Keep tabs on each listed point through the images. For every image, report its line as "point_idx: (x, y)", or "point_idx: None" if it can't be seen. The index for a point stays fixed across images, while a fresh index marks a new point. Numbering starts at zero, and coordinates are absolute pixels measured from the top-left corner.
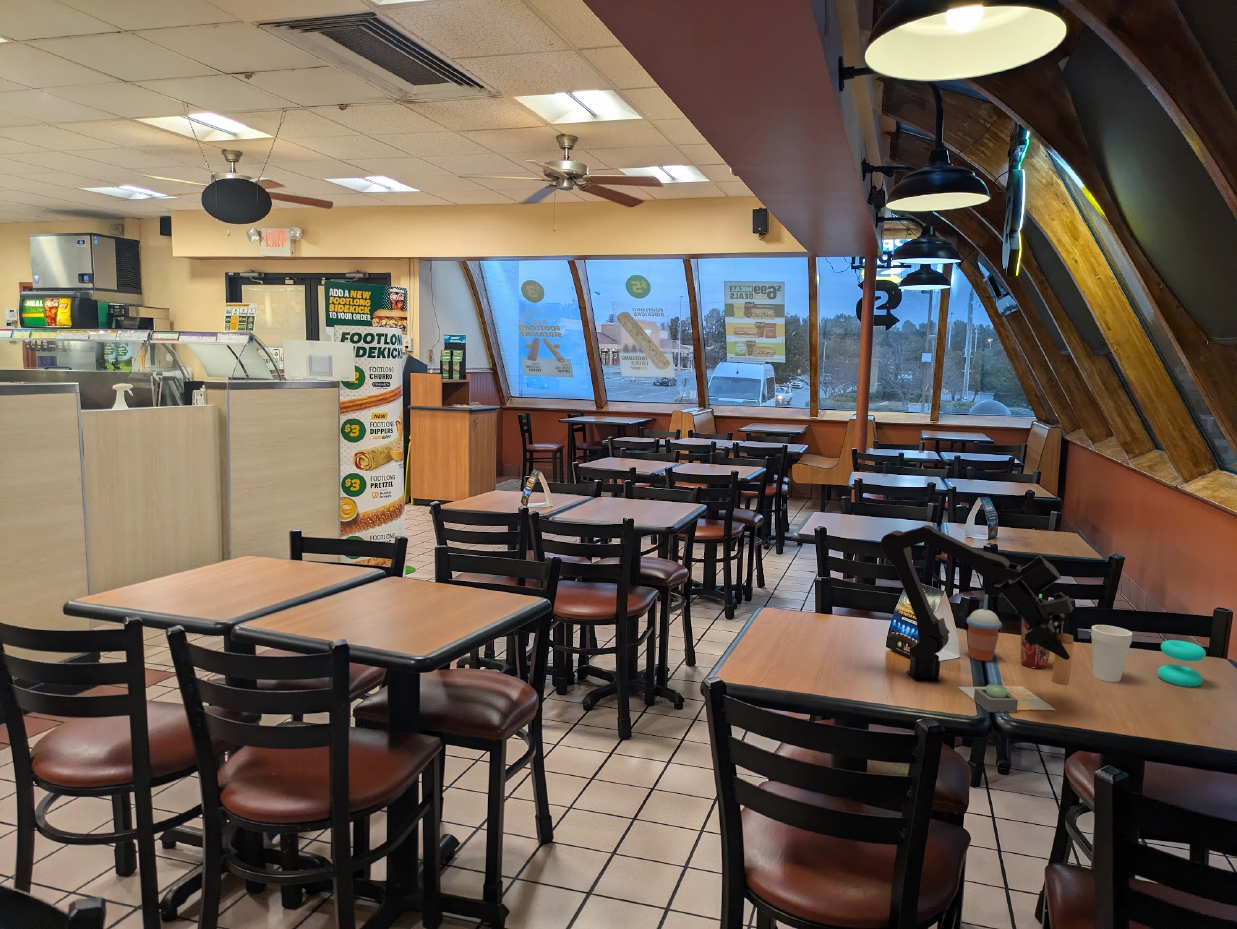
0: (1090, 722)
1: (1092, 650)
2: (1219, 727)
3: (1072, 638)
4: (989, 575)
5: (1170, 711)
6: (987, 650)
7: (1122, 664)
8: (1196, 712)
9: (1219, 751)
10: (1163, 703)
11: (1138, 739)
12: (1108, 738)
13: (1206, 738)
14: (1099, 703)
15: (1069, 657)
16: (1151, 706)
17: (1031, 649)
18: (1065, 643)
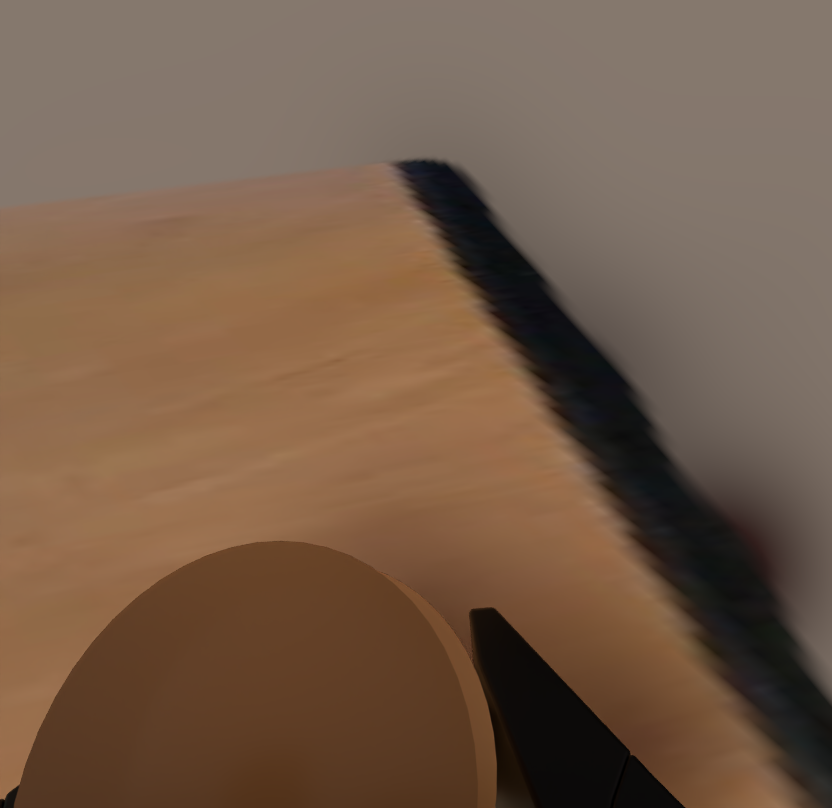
0: (502, 514)
1: None
2: (200, 197)
3: (326, 556)
4: None
5: (117, 311)
6: None
7: None
8: (81, 256)
9: (429, 170)
10: (29, 342)
11: (538, 332)
12: (641, 412)
13: (337, 204)
14: (175, 540)
15: (496, 612)
16: (92, 366)
17: None
18: (471, 704)
